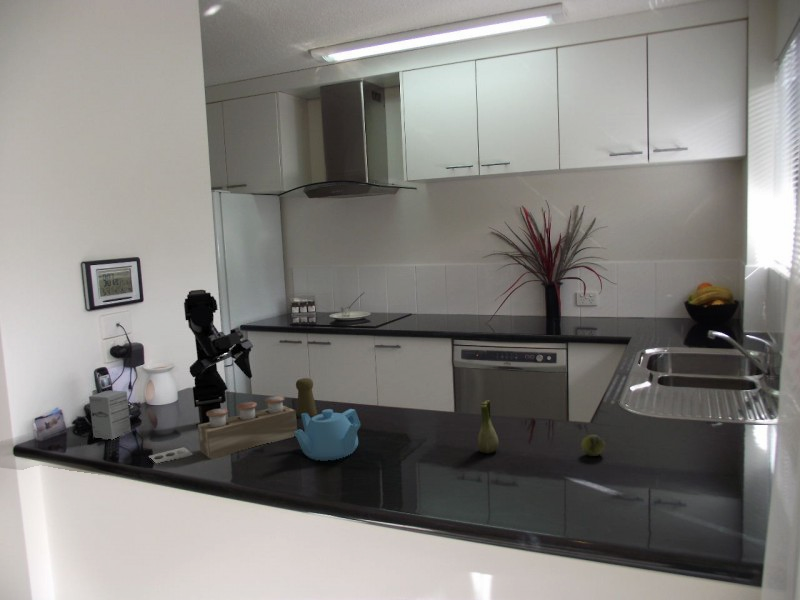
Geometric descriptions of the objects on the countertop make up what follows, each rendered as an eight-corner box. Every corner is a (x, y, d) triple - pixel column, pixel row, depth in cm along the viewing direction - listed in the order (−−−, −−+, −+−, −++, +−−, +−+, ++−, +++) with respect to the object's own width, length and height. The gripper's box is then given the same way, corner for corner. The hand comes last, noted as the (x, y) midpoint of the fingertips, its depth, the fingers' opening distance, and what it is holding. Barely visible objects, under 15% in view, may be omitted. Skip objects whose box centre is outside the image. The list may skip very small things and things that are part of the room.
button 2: (263, 416, 170) (261, 398, 169) (280, 412, 173) (279, 394, 172) (271, 420, 166) (269, 402, 165) (289, 416, 169) (287, 398, 168)
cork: (313, 417, 186) (310, 381, 184) (294, 417, 187) (290, 381, 186) (319, 411, 191) (316, 376, 190) (301, 411, 193) (298, 376, 192)
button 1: (205, 430, 161) (203, 411, 160) (224, 425, 164) (223, 407, 163) (212, 435, 156) (210, 415, 156) (232, 430, 159) (230, 411, 159)
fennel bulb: (488, 446, 151) (485, 397, 150) (504, 450, 148) (502, 400, 146) (473, 453, 147) (470, 403, 146) (489, 457, 144) (486, 406, 142)
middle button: (235, 423, 165) (233, 405, 165) (253, 418, 168) (252, 400, 168) (242, 427, 161) (240, 408, 161) (261, 422, 164) (259, 404, 164)
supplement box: (92, 439, 179) (87, 396, 177) (113, 431, 185) (108, 389, 184) (112, 440, 176) (106, 397, 174) (132, 432, 183) (127, 390, 181)
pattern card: (148, 457, 159) (148, 455, 159) (184, 448, 165) (183, 446, 165) (156, 464, 154) (155, 462, 154) (192, 455, 159) (192, 452, 159)
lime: (578, 455, 141) (578, 434, 141) (595, 451, 143) (595, 430, 142) (592, 461, 137) (591, 439, 136) (609, 457, 139) (608, 435, 138)
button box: (200, 451, 162) (197, 425, 161) (285, 429, 175) (282, 405, 175) (210, 458, 155) (208, 431, 154) (297, 435, 169) (295, 410, 168)
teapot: (360, 461, 147) (357, 417, 145) (296, 466, 146) (292, 422, 145) (362, 440, 162) (358, 400, 161) (303, 445, 161) (300, 404, 160)
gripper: (195, 331, 157) (228, 382, 155) (247, 311, 172) (278, 358, 171) (175, 352, 163) (207, 401, 161) (227, 331, 179) (257, 376, 177)
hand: (238, 383), depth 167 cm, fingers open, 9 cm apart
